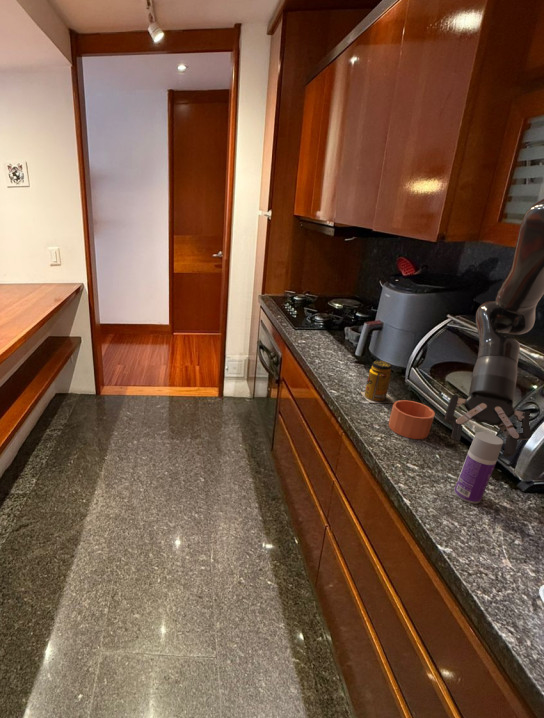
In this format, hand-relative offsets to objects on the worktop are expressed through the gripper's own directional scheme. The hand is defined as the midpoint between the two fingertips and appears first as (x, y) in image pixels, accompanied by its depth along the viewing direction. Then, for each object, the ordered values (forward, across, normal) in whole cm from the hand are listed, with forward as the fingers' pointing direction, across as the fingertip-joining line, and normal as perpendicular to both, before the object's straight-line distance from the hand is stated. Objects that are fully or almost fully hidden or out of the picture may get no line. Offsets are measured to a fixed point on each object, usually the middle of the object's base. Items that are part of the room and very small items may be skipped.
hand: (481, 449), depth 82 cm
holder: (-7, -12, +22) cm, 26 cm away
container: (+10, 0, +6) cm, 11 cm away
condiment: (-17, -22, +32) cm, 43 cm away
